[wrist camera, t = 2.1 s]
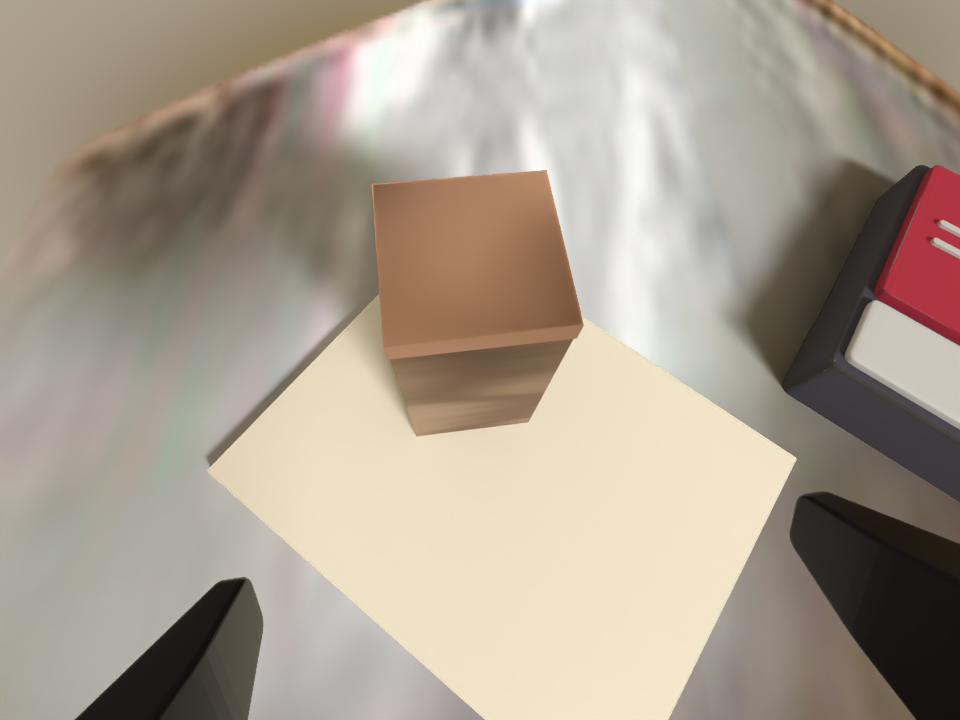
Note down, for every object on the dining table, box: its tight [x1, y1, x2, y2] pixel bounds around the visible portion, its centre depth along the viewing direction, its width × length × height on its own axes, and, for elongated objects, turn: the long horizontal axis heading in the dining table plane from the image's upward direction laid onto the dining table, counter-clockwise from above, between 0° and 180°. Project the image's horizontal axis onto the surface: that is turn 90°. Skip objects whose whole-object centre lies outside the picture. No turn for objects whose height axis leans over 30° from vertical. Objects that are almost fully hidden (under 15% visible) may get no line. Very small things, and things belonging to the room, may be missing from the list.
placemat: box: [207, 294, 797, 720], centre depth 21 cm, size 20×16×1 cm
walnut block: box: [371, 170, 584, 437], centre depth 18 cm, size 5×5×10 cm
